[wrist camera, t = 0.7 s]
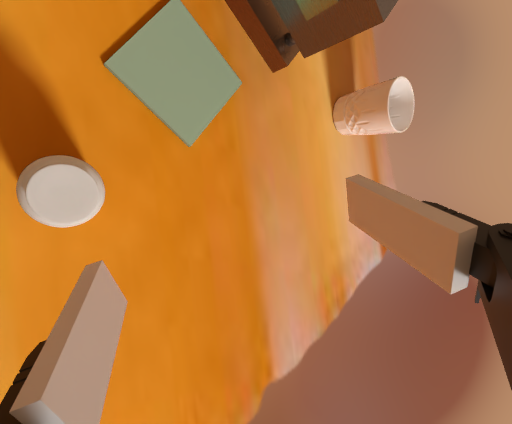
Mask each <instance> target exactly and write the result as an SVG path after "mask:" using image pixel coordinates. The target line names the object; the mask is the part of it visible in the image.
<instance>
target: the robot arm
mask: <svg viewBox="0 0 512 424" xmlns="http://www.w3.org/2000/svg"><path fill="white" fill-rule="evenodd" d="M346 187H347V200H348V212H349V221H350V222H351V223H352V224H354V225H355V226H357V227H358V228H359V229H361V230H362V231H364V232H365V233H366V234H368V235H369V236H371V237H372V238H373V239H375V240H376V241H377V242H379V243H380V244H382V245H383V246H384V247H386V248H387V249H389V250H390V251H392V252H393V253H394V254H395V255H397V256H398V257H400V258H401V259H403V260H404V261H405V262H407V263H408V264H409V265H411V266H412V267H414V268H415V269H416V270H418V271H419V272H420V273H422V274H423V275H425V276H426V277H427V278H429V279H430V280H432V281H433V282H434V283H436V284H437V285H438V286H440V287H441V288H443V289H444V290H445V291H447V292H448V293H450V294H453V293H455V292H457V291H459V290H462V289H464V288H466V287H467V286H468V281H469V275H472V276H473V277H475V278H477V279H478V280H479V281H478V286H477V291H476V296H475V303H479V299H480V298H481V299H482V302H483V305H484V308H485V311H486V314H487V317H488V320H489V323H490V326H491V329H492V332H493V335H494V338H495V341H496V344H497V347H498V350H499V353H500V356H501V359H502V362H503V365H504V368H505V372H506V375H507V378H508V381H509V383H510V387H511V390H512V224H510V223H504V224H497V225H493V226H490V225H488V224H486V223H483V222H481V221H478V220H476V219H473V218H471V217H469V216H466V215H464V214H461V213H457V212H456V211H454V210H452V209H448V208H447V207H444V206H442V205H439V204H437V203H432V202H427V201H419V200H416V199H414V198H412V197H409V196H407V195H405V194H402V193H400V192H398V191H396V190H393V189H391V188H389V187H386V186H384V185H382V184H379V183H377V182H375V181H372V180H370V179H368V178H365V177H363V176H361V175H355V176H352V177H349V178H346ZM126 306H127V300H126V298H125V297H124V295H123V293H122V292H121V290H120V289H119V287H118V285H117V284H116V282H115V280H114V279H113V277H112V275H111V274H110V272H109V270H108V269H107V267H106V266H105V264H104V262H103V261H99V262H96V263H93V264H90V265H87V266H85V268H84V270H83V272H82V274H81V276H80V278H79V280H78V282H77V283H76V285H75V287H74V289H73V291H72V293H71V295H70V297H69V299H68V301H67V303H66V304H65V306H64V308H63V310H62V312H61V314H60V316H59V318H58V320H57V322H56V324H55V325H54V327H53V329H52V331H51V333H50V335H49V337H48V339H47V340H45V341H43V342H40V343H39V344H38V345H37V346H36V348H35V349H34V350H33V351H32V352H31V353H30V354H29V355H28V356H27V358H26V360H25V362H24V363H23V365H22V367H21V369H20V370H19V371H20V373H18V374H17V376H16V378H15V379H14V381H13V385H12V386H10V388H9V390H8V392H7V393H6V395H5V397H4V399H3V400H2V402H1V404H0V424H99V423H100V419H101V414H102V410H103V406H104V401H105V397H106V393H107V388H108V384H109V380H110V375H111V371H112V367H113V362H114V358H115V354H116V349H117V345H118V341H119V336H120V332H121V327H122V323H123V319H124V314H125V310H126Z"/></svg>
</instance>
